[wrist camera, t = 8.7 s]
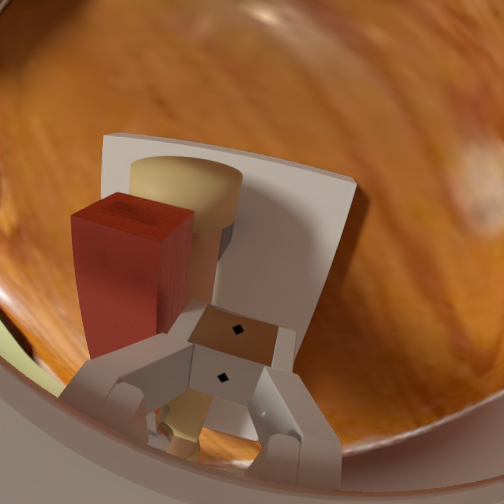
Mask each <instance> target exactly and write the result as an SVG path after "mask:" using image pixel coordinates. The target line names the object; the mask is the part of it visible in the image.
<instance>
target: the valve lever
mask: <svg viewBox="0 0 504 504" xmlns="http://www.w3.org/2000/svg"><path fill="white" fill-rule="evenodd" d="M194 216H195V211H192V210H189V209H185V208H181V207H177V206H173V205H169V204H165V203H161V202H157V201H153V200H149V199H145V198H141V197H137V196H133V195H129V194H125V193H121V192H115V193H113V194H111V195H109V196H107V197H105V198H103V199H101V200H99V201H97V202H95V203H93V204H91V205H89V206H88V207H86V208H84V209H82V210H80V211H78V212H76V213H74V214H72V215H71V232H72V246H73V257H74V267H75V276H76V283H77V291H78V297H79V304H80V310H81V315H82V321H83V326H84V331H85V336H86V341H87V345H88V350H89V354H90V358H91V359H94V358H97V357H99V356H102V355H105V354H108V353H110V352H113V351H116V350H118V349H121V348H124V347H126V346H129V345H132V344H134V343H137V342H139V341H142V340H145V339H147V338H150V337H152V336H155V335H157V334H160V333H165V334H168V333H169V331H170V329H171V328H172V326H173V325H174V323H175V321H176V320H177V318H178V317H179V315H180V314H181V312H182V310H183V304H184V295H185V285H186V277H187V268H188V260H189V252H190V244H191V237H192V230H193V223H194ZM146 420H147V428H148V436H149V442H148V444H147V445H149V446H152V447H154V448H157V449H159V450H162V451H164V452H167V450H168V448H169V445H170V443H171V441H172V438H173V436H174V432H173V430H172V429H171V427H170V426H169V425H167V424H166V423H165V422H164V421H163V406H161V407H159V408H158V409H156V410H155V411H153V412H151V413H150V414H148V415H146Z"/></svg>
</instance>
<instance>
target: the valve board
mask: <svg viewBox="0 0 504 504" xmlns="http://www.w3.org/2000/svg"><path fill="white" fill-rule="evenodd" d="M356 186H357V184H356V182H355V181H354V179H353V178H352V177H348V176H345V175H341V174H338V173H334V172H331V171H327V170H323V169H319V168H316V167H312V166H308V165H304V164H300V163H296V162H292V161H288V160H283V159H279V158H275V157H270V156H266V155H261V154H256V153H252V152H247V151H242V150H237V149H232V148H226V147H221V146H215V145H209V144H204V143H197V142H191V141H185V140H178V139H171V138H163V137H156V136H148V135H139V134H129V133H113V134H108V135H104V138H103V153H102V175H101V199H103V198H105V197H107V196H109V195H111V194H113V193H115V192H121V193H125V194H129V195H133V196H137V197H141V198H145V199H149V200H153V201H157V202H161V203H165V204H169V205H173V206H177V207H181V208H185V209H189V210H192V211H195V216H194V223H193V230H192V237H191V244H190V252H189V260H188V268H187V277H186V285H185V295H184V304H183V309H184V307H185V306H186V304H187V302H188V301H189V300H190V299H192V298H193V299H196V300H199V301H202V302H205V303H208V304H211V305H214V306H217V307H220V308H223V309H226V310H229V311H232V312H235V313H238V314H241V315H244V316H247V317H251V318H254V319H258V320H261V321H265V322H268V323H272V324H275V325H281V326H285V327H289V328H293V329H296V331H297V338H296V348H295V357H294V360H295V358H296V355H297V353H298V350H299V348H300V346H301V343H302V341H303V338H304V336H305V333H306V331H307V328H308V326H309V323H310V321H311V318H312V316H313V313H314V311H315V308H316V305H317V303H318V300H319V297H320V295H321V292H322V289H323V287H324V284H325V281H326V278H327V275H328V273H329V270H330V267H331V264H332V261H333V258H334V255H335V252H336V250H337V247H338V244H339V241H340V237H341V234H342V231H343V228H344V225H345V222H346V219H347V216H348V212H349V209H350V206H351V203H352V199H353V196H354V192H355V189H356ZM247 407H248V406H245V405H241V404H238V403H235V402H232V401H229V400H226V399H223V398H220V397H217V396H213V395H210V394H206V393H203V392H200V391H197V390H194V389H190V388H188V390H186V391H185V392H183V393H181V394H180V395H178V396H177V397H175V398H174V399H172V400H171V401H169V402H167V403H166V404H164V405H163V421H164V422H165V423H166V424H167V425H169V426H170V427H171V429H172V430H173V432H174V436H173V438H172V441H171V443H170V445H169V448H168V450H167V453H169V454H172V455H175V456H178V457H180V458H183V459H186V460H189V461H192V462H195V463H196V462H197V460H198V457H199V450H200V444H199V440H198V438H199V435H200V432H201V430H202V427H205V428H208V429H212V430H215V431H219V432H222V433H226V434H230V435H233V436H237V437H241V438H246V439H250V440H254V441H257V440H258V435H257V433H256V430H255V427H254V425H253V422H252V419H251V416H250V414H249V411H248V408H247Z"/></svg>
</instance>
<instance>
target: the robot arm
mask: <svg viewBox="0 0 504 504" xmlns="http://www.w3.org/2000/svg"><path fill="white" fill-rule="evenodd" d="M296 338H297V331H296V329H293V328H289V327H285V326H281V325H275V324H272V323H268V322H265V321H261V320H258V319H254V318H251V317H247V316H244V315H241V314H238V313H235V312H232V311H229V310H226V309H223V308H220V307H217V306H214V305H211V304H208V303H205V302H202V301H199V300H196V299H193V298H192V299H190V300H189V301H188V302H187V304H186V306H185V307H184V309H183V310H182V312H181V314H180V315H179V317H178V318H177V320H176V321H175V323H174V325H173V326H172V328H171V329H170V331H169V333H168V334H165V333H160V334H157V335H155V336H152V337H150V338H147V339H145V340H142V341H139V342H137V343H134V344H132V345H129V346H126V347H124V348H121V349H118V350H116V351H113V352H110V353H108V354H105V355H102V356H99V357H97V358H94V359H91V360H88V361H86V362H85V363H84V365H83V366H82V367H81V368H80V370H79V371H78V372H77V374H76V375H75V376H74V377H73V379H72V380H71V381H70V383H69V384H68V385H67V386H66V388H65V389H64V390H63V392H62V393H61V394H60V396H59V397H58V398H57V397H56V396H54V395H53V394H51V393H50V392H48V391H47V390H45V389H44V388H42V387H41V386H39V385H38V384H37V383H35V382H34V381H32V380H31V379H29V378H28V377H26V376H25V375H24V374H23V373H21V372H20V371H19V370H18V369H16V368H15V367H14V366H12V365H11V364H10V363H9V362H7V361H6V360H5V359H3V358H2V357H1V356H0V504H504V475H501V476H498V477H494V478H490V479H485V480H481V481H476V482H472V483H466V484H460V485H454V486H448V487H441V488H432V489H423V490H411V491H391V492H390V491H389V492H361V491H340V482H341V455H342V443H341V441H340V440H339V438H338V437H337V435H336V434H335V432H334V431H333V429H332V427H331V426H330V424H329V423H328V421H327V420H326V418H325V416H324V415H323V413H322V412H321V410H320V409H319V407H318V405H317V404H316V402H315V401H314V399H313V397H312V396H311V394H310V393H309V391H308V390H307V388H306V386H305V385H304V383H303V381H302V380H301V378H300V377H299V375H298V374H295V373H293V366H294V357H295V348H296ZM188 388H190V389H194V390H197V391H200V392H203V393H206V394H210V395H213V396H217V397H220V398H223V399H226V400H229V401H232V402H235V403H238V404H241V405H245V406H248V407H247V408H248V411H249V414H250V416H251V419H252V422H253V425H254V427H255V430H256V433H257V435H258V438H259V441H260V443H261V446H262V450H261V451H260V453H259V454H258V455H257V457H256V458H255V460H254V461H253V462H252V464H251V465H250V466H249V468H248V469H247V471H246V472H245V476H241V475H237V474H233V473H229V472H225V471H222V470H218V469H215V468H211V467H208V466H205V465H201V464H198V463H195V462H192V461H189V460H186V459H183V458H180V457H178V456H175V455H172V454H169V453H167V452H164V451H162V450H159V449H157V448H154V447H152V446H149V445H147V444H148V442H149V436H148V428H147V420H146V415H148V414H150V413H151V412H153V411H155V410H156V409H158V408H159V407H161V406H163V405H164V404H166V403H167V402H169V401H171V400H172V399H174V398H175V397H177V396H178V395H180V394H181V393H183V392H185V391H186V390H188Z"/></svg>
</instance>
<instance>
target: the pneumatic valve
mask: <svg viewBox="0 0 504 504" xmlns="http://www.w3.org/2000/svg"><path fill="white" fill-rule="evenodd" d="M10 1H11V0H0V14H1V13H2V11H3V10H4V9H5V8H6V6H7V5H8V4H9V2H10Z"/></svg>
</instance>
